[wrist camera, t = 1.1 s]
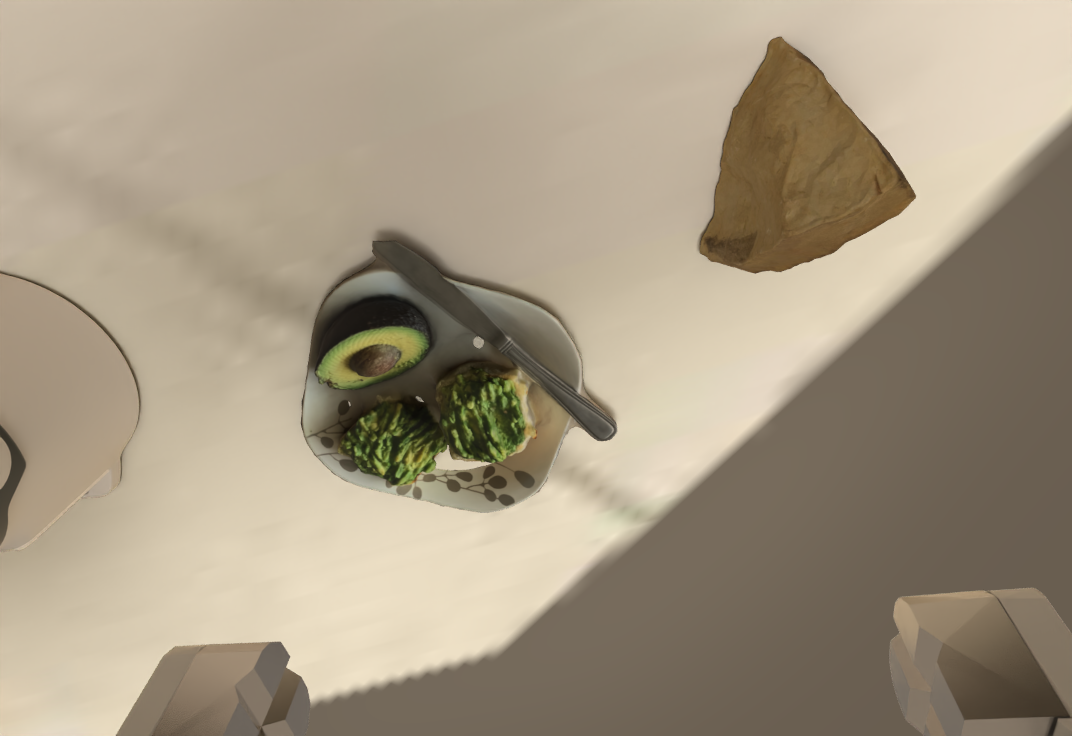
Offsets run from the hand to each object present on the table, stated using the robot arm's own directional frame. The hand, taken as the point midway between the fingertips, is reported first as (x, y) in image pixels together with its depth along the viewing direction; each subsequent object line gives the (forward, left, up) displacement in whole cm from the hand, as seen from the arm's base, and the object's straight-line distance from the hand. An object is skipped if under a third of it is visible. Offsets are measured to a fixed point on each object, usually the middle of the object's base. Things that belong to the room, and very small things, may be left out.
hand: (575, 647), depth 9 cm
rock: (+9, -4, -32) cm, 33 cm away
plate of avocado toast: (-12, -12, -32) cm, 36 cm away
